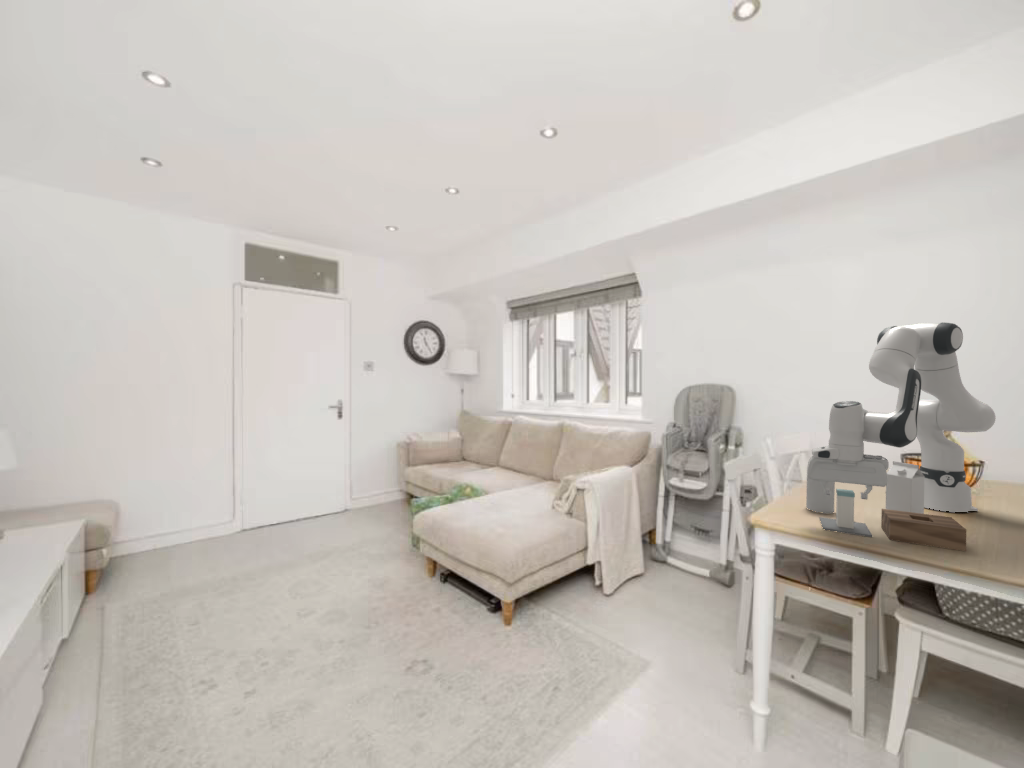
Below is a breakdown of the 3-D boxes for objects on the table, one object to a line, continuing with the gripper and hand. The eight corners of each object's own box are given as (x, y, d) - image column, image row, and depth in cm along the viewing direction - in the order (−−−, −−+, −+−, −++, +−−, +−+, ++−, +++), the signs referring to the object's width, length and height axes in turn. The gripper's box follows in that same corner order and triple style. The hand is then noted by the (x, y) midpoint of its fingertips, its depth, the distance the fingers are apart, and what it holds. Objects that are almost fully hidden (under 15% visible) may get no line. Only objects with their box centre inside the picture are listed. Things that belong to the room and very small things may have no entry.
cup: (837, 510, 156) (838, 476, 155) (829, 515, 151) (829, 480, 150) (811, 505, 162) (811, 472, 162) (802, 509, 157) (803, 475, 157)
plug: (835, 522, 141) (836, 488, 141) (852, 524, 139) (852, 490, 139) (837, 526, 138) (837, 491, 137) (854, 528, 135) (854, 493, 135)
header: (881, 527, 138) (881, 508, 138) (950, 537, 130) (951, 517, 130) (889, 539, 128) (890, 519, 128) (965, 551, 120) (966, 529, 120)
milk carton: (898, 515, 150) (899, 460, 150) (923, 522, 143) (925, 464, 143) (885, 518, 147) (886, 461, 147) (910, 524, 141) (912, 466, 140)
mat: (819, 518, 147) (819, 517, 147) (865, 525, 140) (865, 523, 140) (822, 529, 136) (823, 527, 136) (872, 537, 130) (872, 535, 130)
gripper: (886, 454, 135) (885, 499, 136) (806, 448, 146) (806, 490, 146) (891, 458, 130) (890, 504, 130) (807, 451, 140) (807, 494, 141)
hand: (845, 496), depth 138 cm, fingers open, 8 cm apart
